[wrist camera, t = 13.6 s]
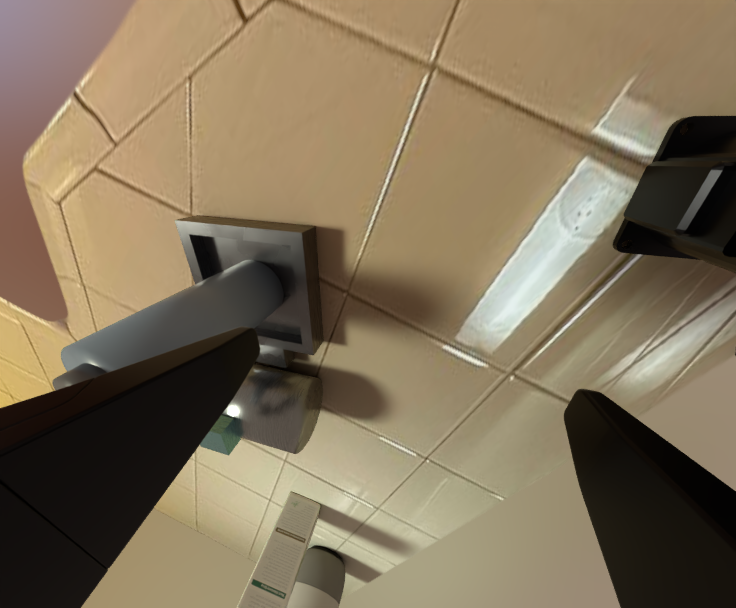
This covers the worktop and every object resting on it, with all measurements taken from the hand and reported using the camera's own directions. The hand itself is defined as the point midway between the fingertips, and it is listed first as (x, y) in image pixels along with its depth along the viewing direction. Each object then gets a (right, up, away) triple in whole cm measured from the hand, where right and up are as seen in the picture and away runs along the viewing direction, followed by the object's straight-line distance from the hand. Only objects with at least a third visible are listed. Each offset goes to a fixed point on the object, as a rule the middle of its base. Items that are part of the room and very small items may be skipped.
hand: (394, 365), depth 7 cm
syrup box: (-11, -32, +37) cm, 50 cm away
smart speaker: (-9, -48, +45) cm, 66 cm away
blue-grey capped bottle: (-11, +3, +16) cm, 19 cm away
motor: (-10, -1, +19) cm, 22 cm away
